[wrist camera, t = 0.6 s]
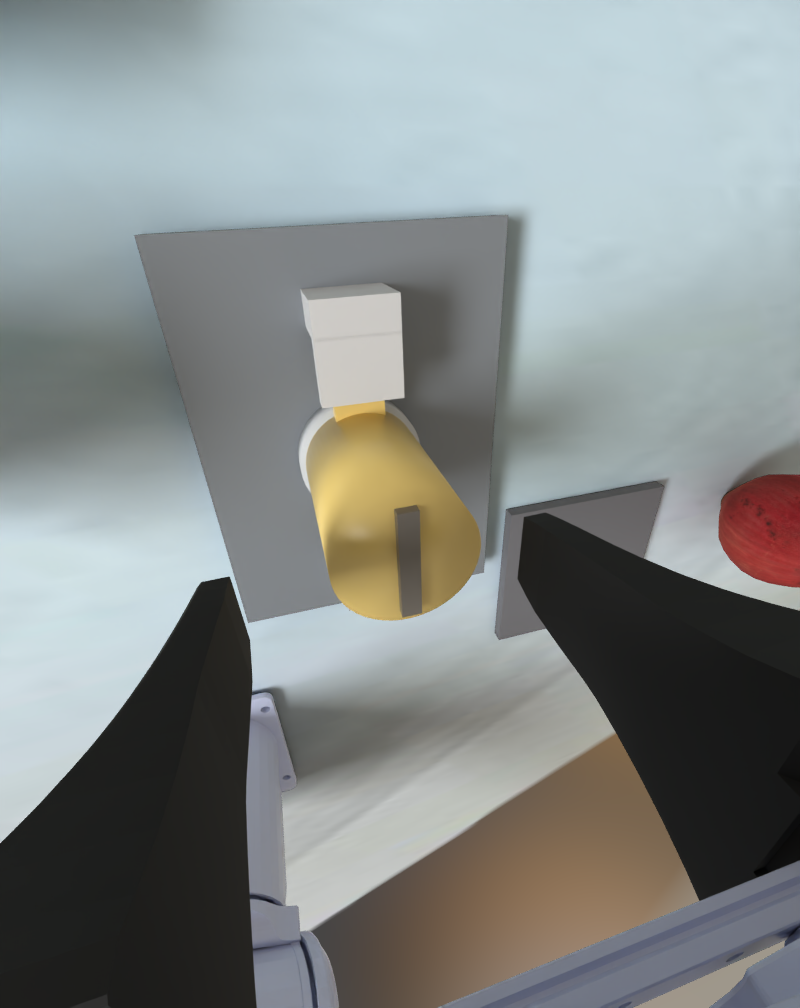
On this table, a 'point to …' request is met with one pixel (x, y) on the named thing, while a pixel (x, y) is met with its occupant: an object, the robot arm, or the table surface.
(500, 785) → the table surface
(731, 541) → the onion
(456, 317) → the post base
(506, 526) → the mat
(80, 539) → the table surface
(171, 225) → the table surface
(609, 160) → the table surface
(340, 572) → the yellow rounded piece
